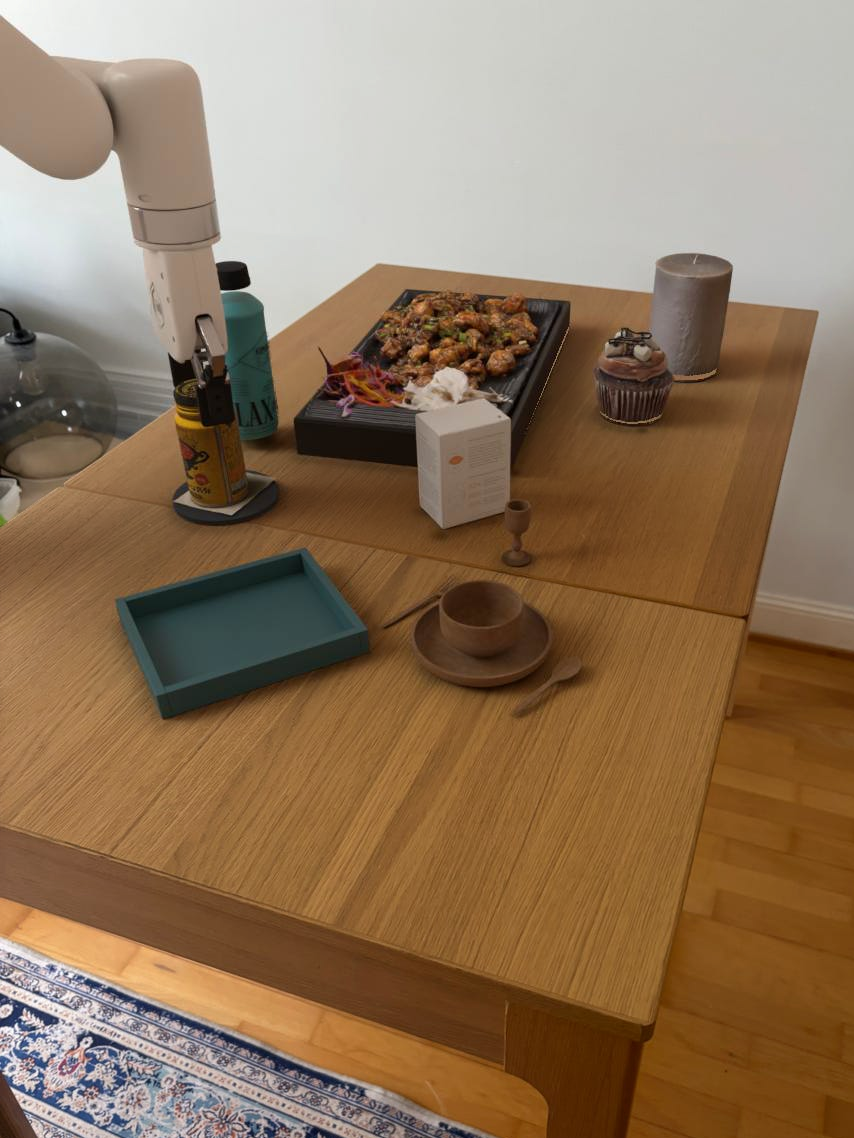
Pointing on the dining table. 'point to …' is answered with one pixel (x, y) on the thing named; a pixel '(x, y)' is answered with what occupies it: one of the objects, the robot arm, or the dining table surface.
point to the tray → (239, 630)
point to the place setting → (487, 627)
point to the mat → (247, 512)
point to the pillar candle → (690, 311)
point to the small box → (463, 462)
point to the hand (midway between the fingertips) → (203, 404)
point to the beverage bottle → (247, 354)
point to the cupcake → (632, 378)
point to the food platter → (433, 372)
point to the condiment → (212, 459)
